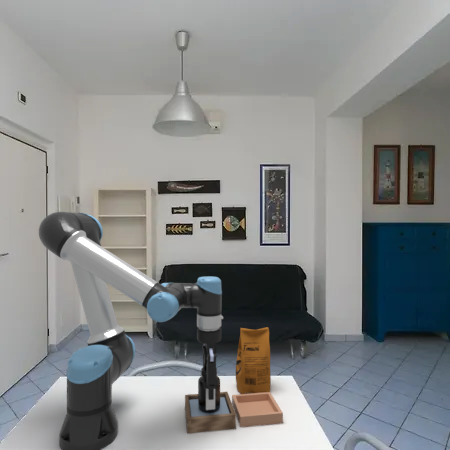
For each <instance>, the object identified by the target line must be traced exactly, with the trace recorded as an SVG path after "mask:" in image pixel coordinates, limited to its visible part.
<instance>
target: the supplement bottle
mask: <svg viewBox="0 0 450 450" xmlns="http://www.w3.org/2000/svg"><path fill="white" fill-rule="evenodd" d="M200 369H201V370H200V376H199V378H198V381H197V392H198V393H197V394H198V407H199V409H200V410H201V411H202V412H205V413H212V412H216V411H217V410H218V409H219V408H220V392H221V379H220V376H219V375H218V369H217V367H216V386H217V387H216V389H215V409H212V410H206V389H204V386H207V378H206V366H204V367H203V366H202V367H201V368H200Z"/></svg>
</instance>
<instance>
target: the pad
mask: <svg viewBox="0 0 450 450" xmlns="http://www.w3.org/2000/svg"><path fill="white" fill-rule="evenodd" d="M189 405H190V414H191V417H196V416H207V415H218V414H229V410H228V407H227V404H226V401H225V398H224V397H220V408H219V409H218V410H217V411H216V412H212V413H205V412H202V411H201V410H200V409H199V407H198V399H192V400H189Z"/></svg>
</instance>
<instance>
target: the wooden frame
mask: <svg viewBox="0 0 450 450" xmlns="http://www.w3.org/2000/svg"><path fill="white" fill-rule="evenodd" d="M220 397H224V398H225V401H226V404H227V407H228V410H229V414H218V415H207V416H196V417H191V414H190V405H189V400H192V399H198V393H193V394H184V411H185V412H184V413H185V421H186V422H185V425H186V433H187V434H194V433H206V432H214V431H224V430H225V431H227V430H234V429H236V428H237V427H236V425H237V423H236V422H237V416H236V414H235V411H234V408H233V405H232V399H231V398H230V395H229V392H228V391H220Z"/></svg>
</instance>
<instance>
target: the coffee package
mask: <svg viewBox="0 0 450 450" xmlns="http://www.w3.org/2000/svg"><path fill="white" fill-rule="evenodd" d="M239 333H240V336H239V341H238V347H237V357H236V362H235V383H236V386H237V387H236V388H237V391H238V393H239V394H252V393H264V392H270V393H271V380H272V379H271V377H272V376H271V344H270V329H269V327H262V328H258V329H257V328H256V329H250V328H245V327H244V328H243V327H240V332H239Z"/></svg>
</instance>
